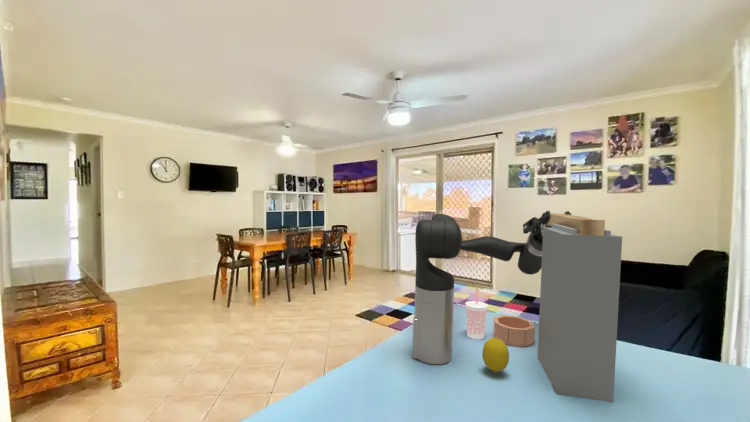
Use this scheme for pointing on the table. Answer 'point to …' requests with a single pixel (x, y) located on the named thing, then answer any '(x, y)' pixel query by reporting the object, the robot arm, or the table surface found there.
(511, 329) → the bowl
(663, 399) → the table surface
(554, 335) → the shelf block
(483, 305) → the beverage cup
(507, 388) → the table surface
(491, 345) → the lemon
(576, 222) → the slat
